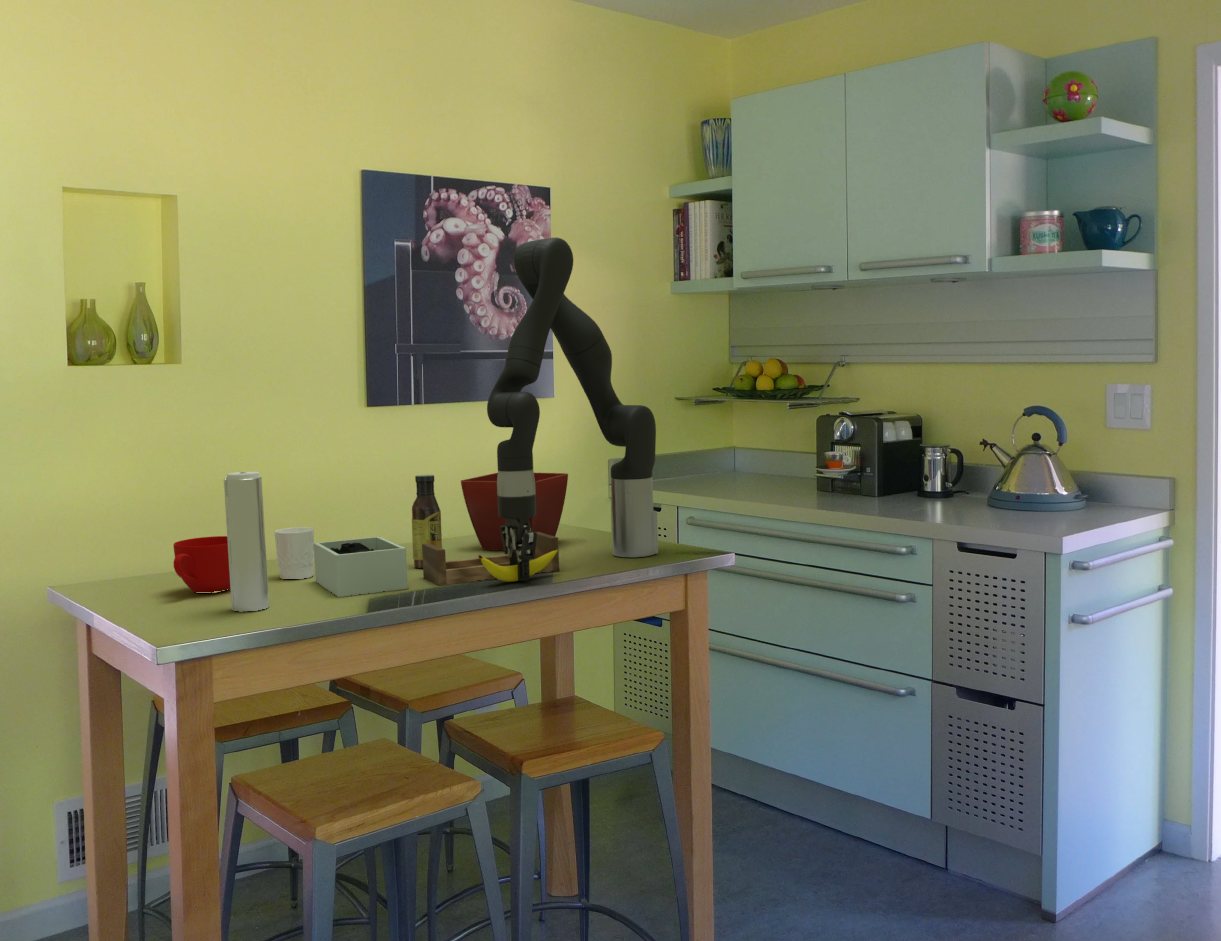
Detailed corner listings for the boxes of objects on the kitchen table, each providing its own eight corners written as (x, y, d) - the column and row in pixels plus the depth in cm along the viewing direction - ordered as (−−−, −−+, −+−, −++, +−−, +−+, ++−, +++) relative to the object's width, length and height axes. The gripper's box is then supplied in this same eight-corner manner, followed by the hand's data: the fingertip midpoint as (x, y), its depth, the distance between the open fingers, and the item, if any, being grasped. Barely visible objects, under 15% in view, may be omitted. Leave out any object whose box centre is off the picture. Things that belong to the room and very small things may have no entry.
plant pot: (533, 555, 253) (530, 481, 251) (461, 552, 261) (458, 480, 260) (572, 542, 270) (570, 472, 269) (503, 539, 278) (501, 471, 277)
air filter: (236, 605, 208) (228, 471, 206) (272, 604, 209) (264, 470, 206) (228, 613, 202) (219, 474, 199) (264, 611, 202) (256, 473, 200)
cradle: (539, 563, 242) (538, 531, 242) (559, 570, 233) (558, 537, 233) (423, 577, 230) (421, 543, 230) (439, 585, 222) (437, 550, 221)
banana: (562, 574, 229) (561, 543, 228) (484, 588, 217) (482, 556, 216) (554, 572, 231) (553, 542, 231) (476, 586, 219) (474, 554, 219)
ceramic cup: (149, 601, 215) (145, 549, 214) (203, 583, 231) (200, 535, 230) (207, 602, 212) (204, 550, 211) (258, 585, 228) (255, 536, 227)
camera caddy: (381, 574, 236) (379, 536, 235) (407, 588, 219) (405, 548, 219) (315, 581, 230) (313, 542, 229) (338, 597, 213) (336, 555, 212)
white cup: (324, 574, 237) (321, 527, 236) (299, 581, 230) (296, 533, 229) (294, 572, 241) (292, 526, 240) (269, 579, 233) (266, 532, 233)
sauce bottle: (436, 569, 239) (432, 476, 238) (409, 569, 241) (404, 476, 239) (447, 563, 246) (443, 473, 244) (420, 563, 247) (416, 473, 245)
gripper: (548, 494, 218) (551, 582, 219) (520, 488, 230) (523, 571, 232) (512, 497, 214) (516, 586, 216) (485, 491, 227) (489, 575, 228)
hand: (519, 578), depth 224 cm, fingers closed on banana, 3 cm apart
